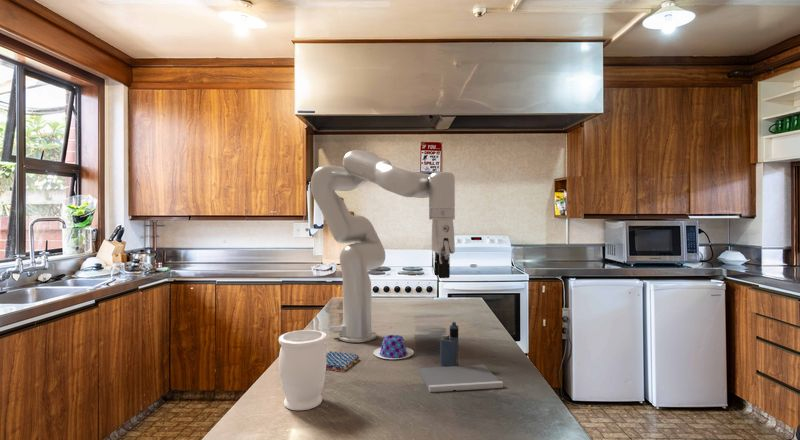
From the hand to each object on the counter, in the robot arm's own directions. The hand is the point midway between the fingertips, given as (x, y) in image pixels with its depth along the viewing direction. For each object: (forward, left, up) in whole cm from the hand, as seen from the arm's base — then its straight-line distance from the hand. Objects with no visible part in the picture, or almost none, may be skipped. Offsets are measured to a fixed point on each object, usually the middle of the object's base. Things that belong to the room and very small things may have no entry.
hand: (441, 275), depth 129 cm
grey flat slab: (0, -18, -23) cm, 29 cm away
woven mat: (-31, -3, -24) cm, 39 cm away
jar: (-38, -27, -24) cm, 52 cm away
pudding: (-14, +3, -24) cm, 28 cm away
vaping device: (0, -9, -24) cm, 25 cm away
